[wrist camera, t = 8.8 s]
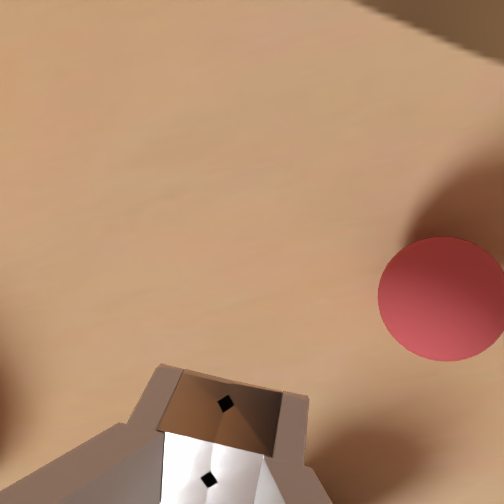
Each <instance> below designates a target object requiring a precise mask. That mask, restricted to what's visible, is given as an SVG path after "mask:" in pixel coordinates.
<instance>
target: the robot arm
mask: <svg viewBox="0 0 504 504" xmlns="http://www.w3.org/2000/svg"><path fill="white" fill-rule="evenodd" d="M308 410H309V398H308V396H306V395H301V394H296V393H291V392H286V391H283V393H282V391H280V390H275V389H270V388H266V387H261V386H256V385H252V384H247V383H242V382H237V381H232V380H228V379H224V378H220V377H216V376H212V375H208V374H204V373H200V372H196V371H191V370H187V369H185V370H184V369H181V368H177V367H173V366H169V365H165V364H160V365H159V366H158V367H157V368H156V369H155V371H154V373H153V375H152V377H151V379H150V381H149V383H148V384H147V386H146V388H145V390H144V392H143V394H142V396H141V398H140V399H139V401H138V403H137V405H136V407H135V409H134V411H133V413H132V414H131V416H130V418H129V420H128V422H127V424H124V423H117V424H115V425H114V426H112V427H110V428H108V429H107V430H105V431H103V432H102V433H100V434H98V435H96V436H95V437H93V438H91V439H90V440H88V441H86V442H84V443H83V444H81V445H79V446H77V447H76V448H74V449H72V450H71V451H69V452H67V453H65V454H64V455H62V456H60V457H59V458H57V459H55V460H53V461H52V462H50V463H48V464H46V465H45V466H43V467H41V468H40V469H38V470H36V471H34V472H33V473H31V474H29V475H28V476H26V477H24V478H22V479H21V480H19V481H17V482H16V483H14V484H12V485H10V486H9V487H7V488H5V489H3V490H2V491H0V504H159V503H162V504H333V503H332V502H331V500H330V498H329V496H328V495H327V493H326V491H325V489H324V488H323V486H322V484H321V483H320V481H319V479H318V477H317V476H316V474H315V472H314V470H313V469H312V468H311V467H307V466H304V458H305V446H306V434H307V422H308Z"/></svg>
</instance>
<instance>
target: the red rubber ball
mask: <svg viewBox="0 0 504 504" xmlns="http://www.w3.org/2000/svg"><path fill="white" fill-rule="evenodd" d="M378 305H379V310H380V314H381V317H382V320H383V322H384V324H385V326H386V328H387V329H388V331H389V332H390V334H391V335H392V336H393V337H394V338H395V339H396V340H397V341H398V342H399V343H400V344H401V345H402V346H403V347H405V348H406V349H407V350H409V351H411V352H413V353H414V354H416V355H419V356H421V357H424V358H427V359H431V360H436V361H458V360H463V359H467V358H470V357H473V356H475V355H477V354H479V353H481V352H483V351H484V350H486V349H487V348H488V347H490V346H491V345H492V344H493V343H494V342H495V341H496V340H497V339H498V338H499V337H500V335H501V334H502V332H503V331H504V271H503V270H502V268H501V267H500V265H499V264H498V263H497V261H496V260H495V259H494V258H493V257H492V256H491V255H490V254H489V253H487V252H486V251H485V250H484V249H482V248H480V247H479V246H477V245H475V244H473V243H471V242H468V241H466V240H463V239H459V238H454V237H431V238H426V239H422V240H419V241H416V242H414V243H412V244H410V245H408V246H407V247H405V248H404V249H402V250H401V251H399V252H398V253H397V254H396V255H395V256H394V257H393V258H392V259H391V261H390V262H389V263H388V265H387V266H386V268H385V270H384V272H383V274H382V277H381V279H380V284H379V288H378Z"/></svg>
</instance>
